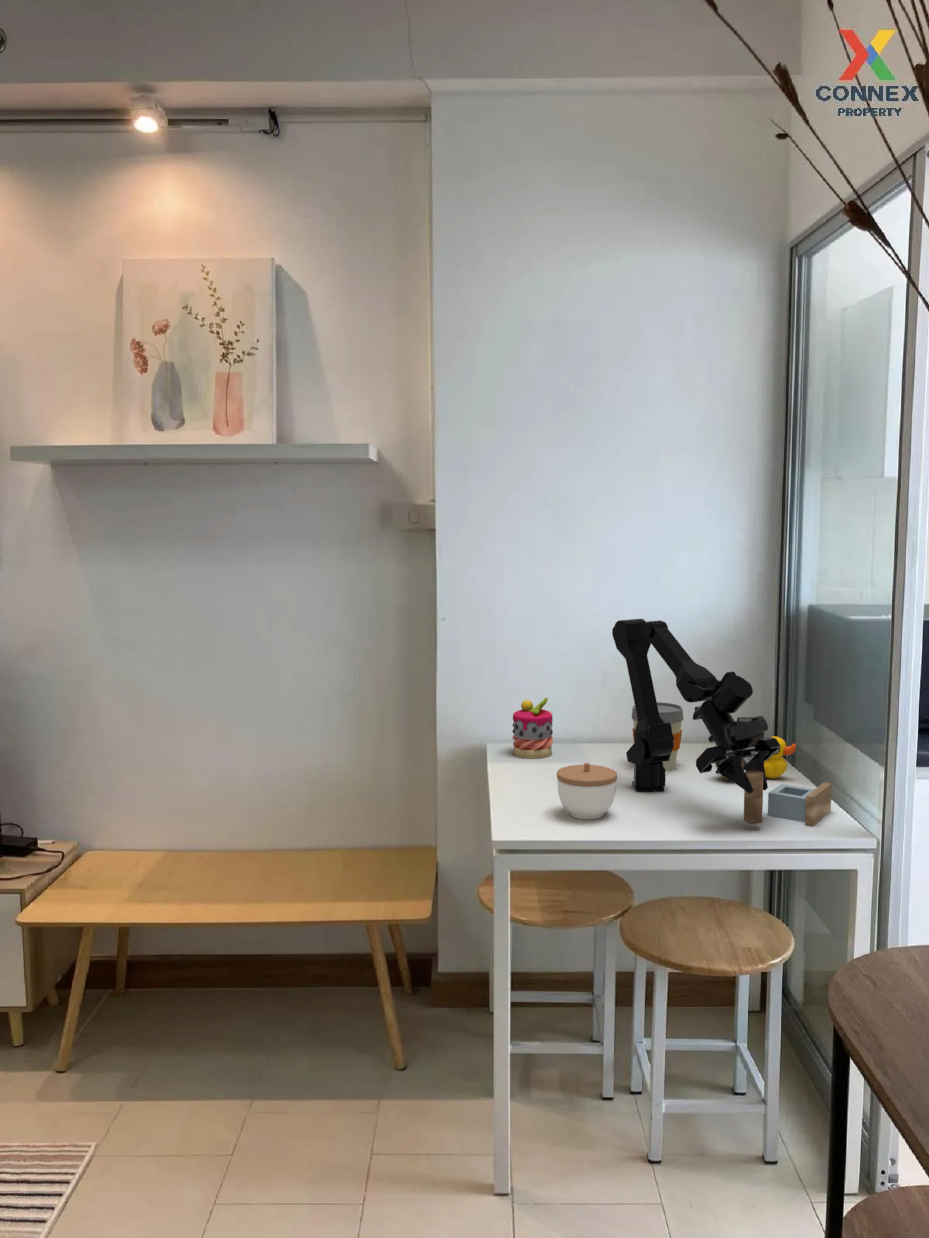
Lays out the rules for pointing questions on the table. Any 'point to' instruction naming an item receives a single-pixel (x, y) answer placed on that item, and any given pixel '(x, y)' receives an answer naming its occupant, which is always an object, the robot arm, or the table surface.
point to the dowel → (754, 797)
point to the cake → (532, 731)
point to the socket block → (788, 802)
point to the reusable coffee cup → (675, 718)
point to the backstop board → (818, 804)
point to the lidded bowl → (586, 790)
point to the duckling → (778, 760)
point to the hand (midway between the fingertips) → (758, 790)
